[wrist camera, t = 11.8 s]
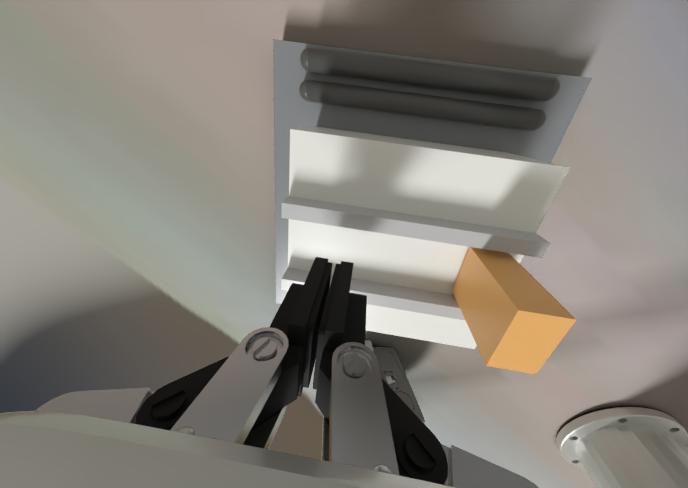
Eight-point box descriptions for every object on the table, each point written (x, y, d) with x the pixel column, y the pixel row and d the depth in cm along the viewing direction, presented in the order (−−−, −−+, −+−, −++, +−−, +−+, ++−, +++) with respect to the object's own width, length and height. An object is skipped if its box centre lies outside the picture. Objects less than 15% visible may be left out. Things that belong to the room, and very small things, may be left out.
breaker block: (573, 81, 16) (767, 44, 8) (461, 324, 25) (500, 413, 18) (281, 45, 16) (199, -21, 9) (281, 293, 26) (241, 366, 18)
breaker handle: (507, 252, 13) (576, 319, 9) (486, 296, 14) (536, 374, 10) (469, 246, 13) (518, 310, 9) (451, 290, 15) (486, 365, 10)
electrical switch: (362, 334, 28) (368, 428, 19) (407, 339, 28) (432, 433, 20) (350, 386, 32) (351, 480, 24) (390, 389, 32) (404, 484, 24)
